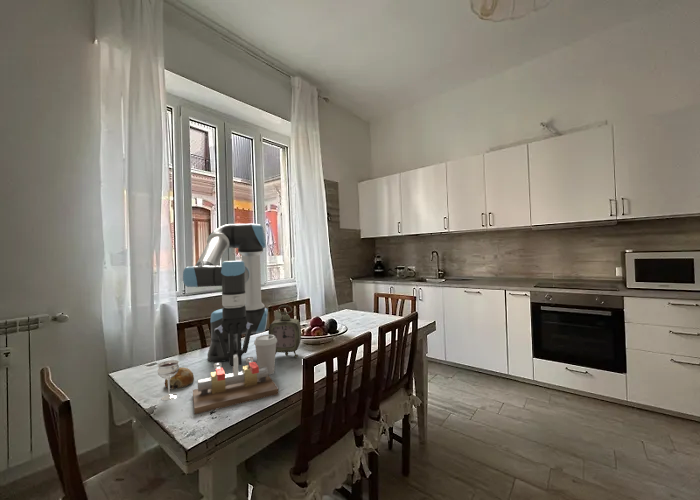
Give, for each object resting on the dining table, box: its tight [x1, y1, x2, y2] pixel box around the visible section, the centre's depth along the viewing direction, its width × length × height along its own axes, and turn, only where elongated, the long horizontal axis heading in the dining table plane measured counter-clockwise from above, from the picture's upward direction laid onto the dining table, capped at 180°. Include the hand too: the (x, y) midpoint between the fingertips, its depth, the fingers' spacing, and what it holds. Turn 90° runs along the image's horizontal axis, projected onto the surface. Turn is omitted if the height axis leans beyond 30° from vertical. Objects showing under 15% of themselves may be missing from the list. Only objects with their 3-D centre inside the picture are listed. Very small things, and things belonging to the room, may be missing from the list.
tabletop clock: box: [267, 304, 302, 359], centre depth 152 cm, size 14×9×25 cm, turn 91°
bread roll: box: [164, 366, 195, 390], centre depth 123 cm, size 10×10×8 cm
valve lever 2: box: [245, 356, 259, 374], centre depth 113 cm, size 12×3×2 cm, turn 28°
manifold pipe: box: [197, 364, 268, 395], centre depth 115 cm, size 4×24×8 cm, turn 118°
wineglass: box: [157, 359, 180, 401], centre depth 112 cm, size 7×7×12 cm
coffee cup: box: [253, 334, 277, 376], centre depth 132 cm, size 10×10×15 cm
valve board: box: [192, 375, 279, 415], centre depth 113 cm, size 15×27×2 cm, turn 118°
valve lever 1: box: [213, 362, 226, 381], centre depth 108 cm, size 12×3×2 cm, turn 28°
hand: (235, 374), depth 107 cm, fingers closed
